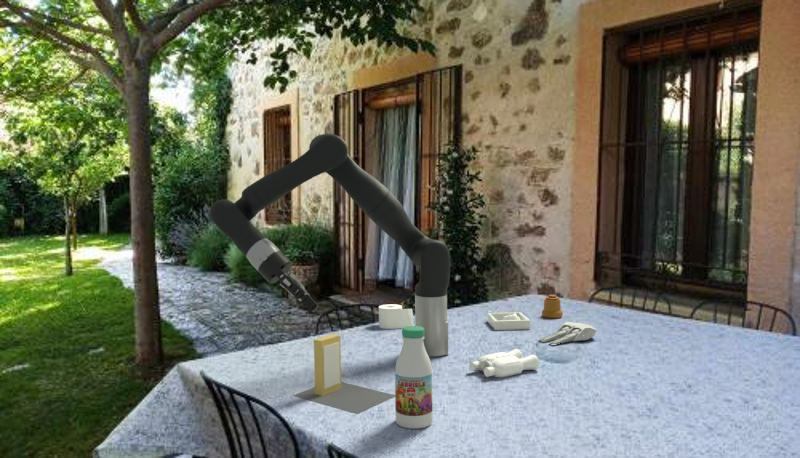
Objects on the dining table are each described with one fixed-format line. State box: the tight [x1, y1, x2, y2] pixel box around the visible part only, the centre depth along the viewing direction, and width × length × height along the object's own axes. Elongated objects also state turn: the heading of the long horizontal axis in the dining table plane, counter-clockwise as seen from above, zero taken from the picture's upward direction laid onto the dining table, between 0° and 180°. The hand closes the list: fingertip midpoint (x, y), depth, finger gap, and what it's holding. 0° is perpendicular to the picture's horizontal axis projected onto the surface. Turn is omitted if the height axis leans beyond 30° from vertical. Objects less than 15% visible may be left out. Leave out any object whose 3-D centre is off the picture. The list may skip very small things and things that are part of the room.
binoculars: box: [469, 348, 540, 379], centre depth 163 cm, size 10×16×5 cm, turn 121°
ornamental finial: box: [541, 294, 564, 319], centre depth 227 cm, size 8×8×8 cm
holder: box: [486, 311, 531, 331], centre depth 215 cm, size 12×13×3 cm
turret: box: [537, 321, 598, 345], centre depth 194 cm, size 10×20×5 cm, turn 120°
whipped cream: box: [502, 312, 521, 320], centre depth 214 cm, size 8×7×5 cm
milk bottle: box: [394, 325, 434, 430], centre depth 128 cm, size 8×8×20 cm
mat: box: [292, 381, 395, 415], centre depth 145 cm, size 20×14×1 cm
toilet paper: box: [378, 303, 414, 330], centre depth 216 cm, size 8×11×7 cm
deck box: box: [313, 333, 342, 396], centre depth 147 cm, size 3×6×13 cm, turn 143°
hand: (315, 309), depth 152 cm, fingers closed
